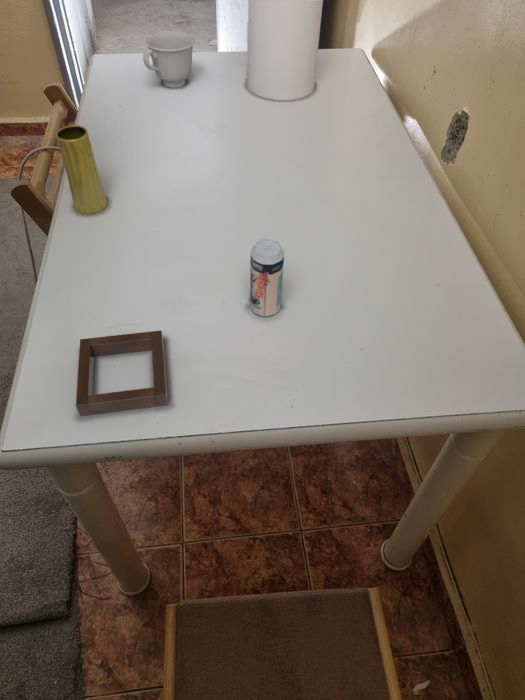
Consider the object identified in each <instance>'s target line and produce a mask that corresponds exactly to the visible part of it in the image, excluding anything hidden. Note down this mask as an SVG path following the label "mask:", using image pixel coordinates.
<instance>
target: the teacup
mask: <svg viewBox="0 0 525 700" xmlns="http://www.w3.org/2000/svg"><path fill="white" fill-rule="evenodd" d="M195 43H196V39H195V37H194V36H193V35H191V34H190V33H187V32H185V31H178V30H162V31H157V32H154V33H152V34H149V35H148V36H147V37H146V38H145V40H144V44H145V45H146V46H147V47H148V48H147V49H146V50H144V52H143V55H142V56H143V57H142V60H143V61H142V62H143V64H144V66H145V67H146V68H147V70H150V71H154V72H155V74H156V76H157V77H158V78H159V79H160V80H162V84H163V85H164V86H165V87H167V88H171V89H173V88H175V89H177V88H180V87H183V86H185V85H186V82H187V81H186V79H188V77H189V76H190V75H191V72H192V66H193V48H194V45H195ZM149 57H151V62H152V65H151V64H150V61H149V59H150V58H149Z"/></svg>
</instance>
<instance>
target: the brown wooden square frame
mask: <svg viewBox="0 0 525 700" xmlns="http://www.w3.org/2000/svg"><path fill="white" fill-rule="evenodd" d="M164 343H165V342H164V337H163V332H162V330H153V331H143V332H134V333H124V334H114V335H105V336H98V337H97V336H96V337H90V338H80V340H79V351H78V364H77V365H78V368H77V383H76V395H75V396H76V399H75V407H76V409H77V411H78V414H79V416H80V417H85V416H86V417H87V416H92V415H93V416H94V415H102V414H108V413H116V412H124V411H125V412H126V411H132V410H140V409H147V408H155V407H156V408H157V407H163V406H164V407H165V406H168V405H169V400H168V386H167V384H168V383H167V371H166V370H167V369H166V358H165V357H166V356H165V345H164ZM149 351H151V353H152V354H151V357H152V358H151V359H152V375H153V378H152V379H153V387H146V388H138V389H129V390H128V389H127V390H121V391H113V392H105V393H97V394H94V376H95V375H94V373H95V358H96V357H104V356H105V357H106V356H115V355H122V354H130V353H131V354H132V353H141V352H149Z"/></svg>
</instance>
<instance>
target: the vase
mask: <svg viewBox="0 0 525 700" xmlns="http://www.w3.org/2000/svg"><path fill="white" fill-rule="evenodd" d="M89 135H90V134H89V131H88V129H87V128H86V127H85V126H83V125H77V124H71V125H66V126H63V127H60V128H59V129H58V130H57V131H56V132H55V138H56V142H57V145H58V148H59V152H60V155H61V159H62V162H63V166H64V169H65V172H66V176H67V181H68V184H69V189H70V195H71V197H72V201H73V207H74V209H75V210H76V211H77V212H78V213H81V214H85V215H86V214H87V215H90V214H97V213H99V212H101V211H103V210H104V209H105V208H106V207H107V205H108V199H107V197H106V194H105V191H104V187H103V184H102V180H101V177H100V173H99V170H98V166H97V163H96V159H95V156H94V151H93V147H92V142H91V140H90V136H89Z"/></svg>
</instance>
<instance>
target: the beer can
mask: <svg viewBox="0 0 525 700" xmlns="http://www.w3.org/2000/svg"><path fill="white" fill-rule="evenodd" d="M284 262H285V251H284V249H283V247H282V246H281V244H280V243H279V241H276V240H274V239H271V238H263V239H261V240H258V241H256V242H255V244H254V246H253V247H252V248H251V250H250V268H249V269H250V270H249V271H250V274H249V275H250V277H249V279H250V280H249V285H250V286H249V306H250V309H251V311H252V312H253V313H255V314H256V315H258V316H261V317H270V316H274V315H275V314H277V313H278V312H279V310H280V309H281V302H282V291H283V290H282V288H283V277H284V276H283V275H284V264H285V263H284Z"/></svg>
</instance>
